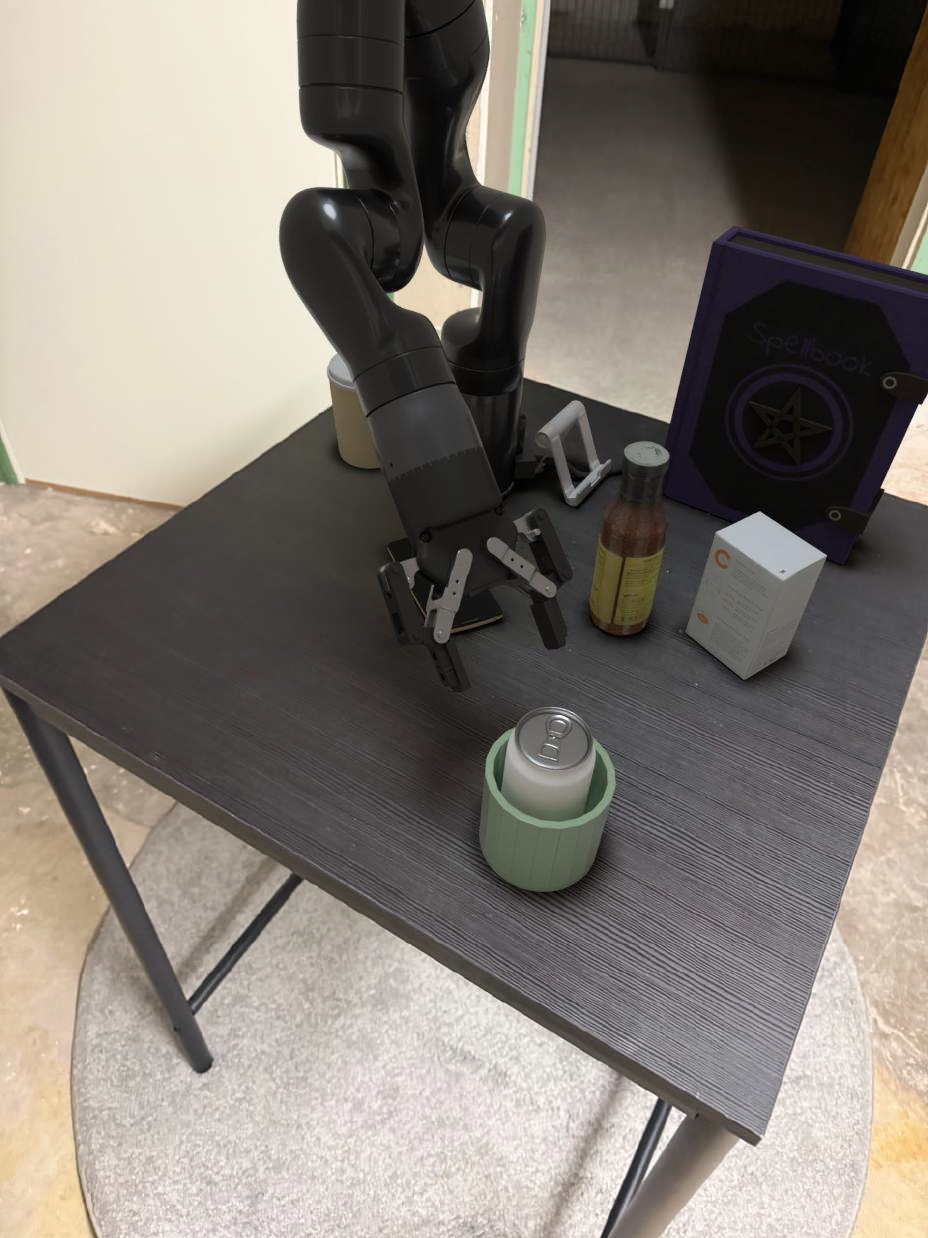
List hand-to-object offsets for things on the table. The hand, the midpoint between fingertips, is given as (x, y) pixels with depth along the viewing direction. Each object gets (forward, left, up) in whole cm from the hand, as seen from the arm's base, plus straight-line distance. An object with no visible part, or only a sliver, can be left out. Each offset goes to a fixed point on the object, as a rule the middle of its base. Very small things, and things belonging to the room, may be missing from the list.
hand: (510, 668), depth 64 cm
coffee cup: (-14, -50, -14) cm, 53 cm away
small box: (-30, -2, -14) cm, 33 cm away
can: (0, +6, -13) cm, 15 cm away
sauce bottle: (-22, -11, -14) cm, 28 cm away
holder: (0, +6, -14) cm, 15 cm away
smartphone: (-9, -24, -14) cm, 29 cm away
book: (-47, -16, -14) cm, 52 cm away
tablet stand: (-32, -33, -14) cm, 48 cm away
